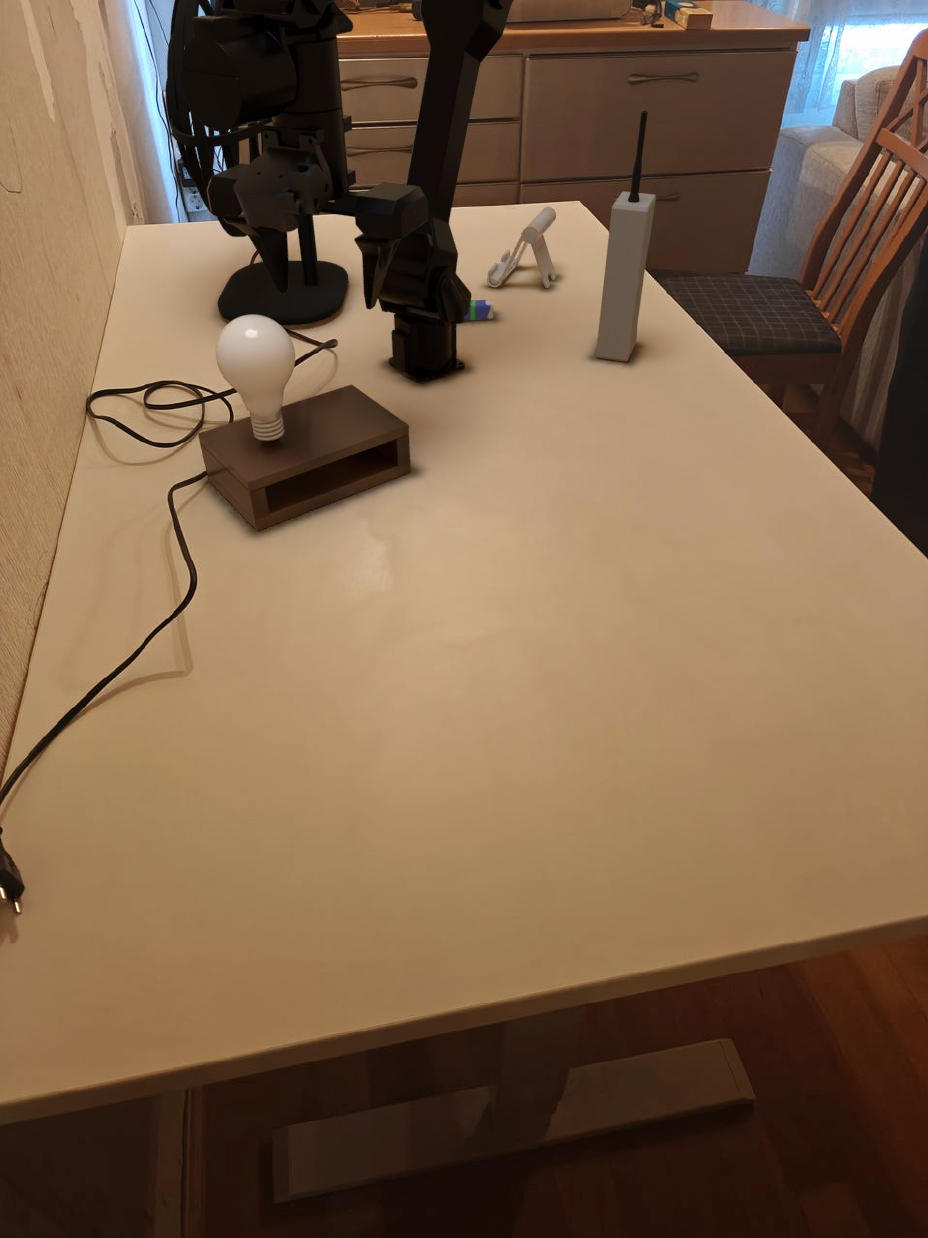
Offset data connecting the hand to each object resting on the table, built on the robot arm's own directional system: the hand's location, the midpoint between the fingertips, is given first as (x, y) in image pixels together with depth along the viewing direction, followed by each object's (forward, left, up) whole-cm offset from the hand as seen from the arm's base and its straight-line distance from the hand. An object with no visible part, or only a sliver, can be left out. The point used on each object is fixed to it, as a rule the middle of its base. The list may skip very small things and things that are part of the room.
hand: (326, 299), depth 80 cm
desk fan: (-11, -34, -13) cm, 38 cm away
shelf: (+7, +6, -13) cm, 16 cm away
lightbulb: (+10, +6, -8) cm, 15 cm away
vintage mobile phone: (-35, +4, -13) cm, 38 cm away
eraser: (-27, -14, -13) cm, 33 cm away
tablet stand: (-41, -20, -13) cm, 48 cm away
